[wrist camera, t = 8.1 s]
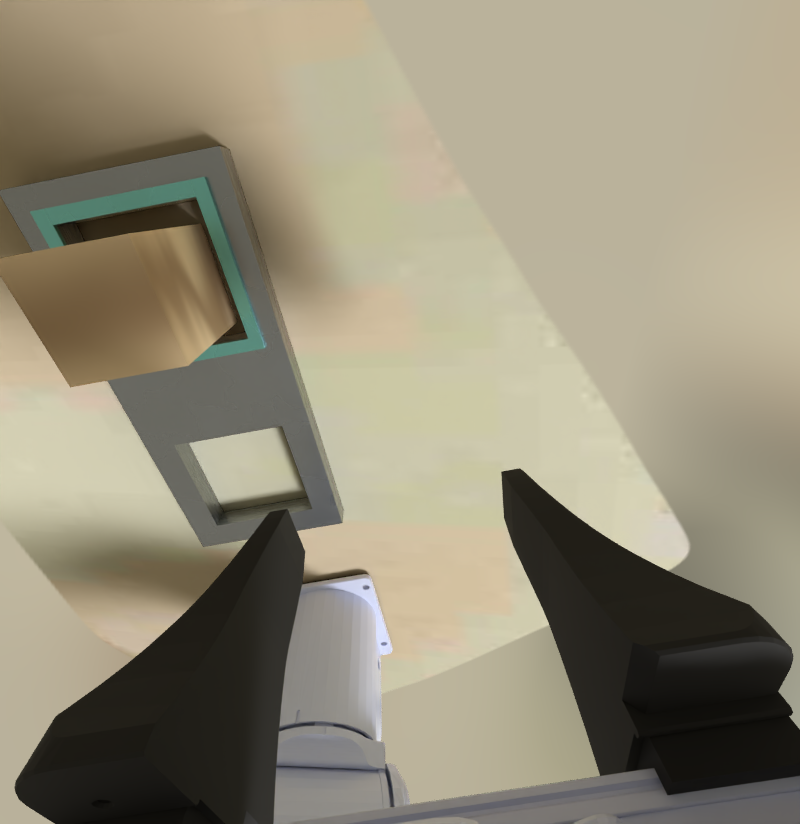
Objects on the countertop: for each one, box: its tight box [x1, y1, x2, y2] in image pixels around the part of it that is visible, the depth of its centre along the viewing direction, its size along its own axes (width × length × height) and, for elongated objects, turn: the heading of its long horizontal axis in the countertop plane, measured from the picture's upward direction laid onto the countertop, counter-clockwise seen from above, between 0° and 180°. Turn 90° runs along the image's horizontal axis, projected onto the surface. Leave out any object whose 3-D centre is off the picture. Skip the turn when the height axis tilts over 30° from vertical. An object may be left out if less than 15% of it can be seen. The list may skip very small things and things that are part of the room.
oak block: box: [0, 224, 237, 387], centre depth 16 cm, size 4×4×6 cm
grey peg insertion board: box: [0, 146, 344, 547], centre depth 21 cm, size 20×9×1 cm, turn 10°
